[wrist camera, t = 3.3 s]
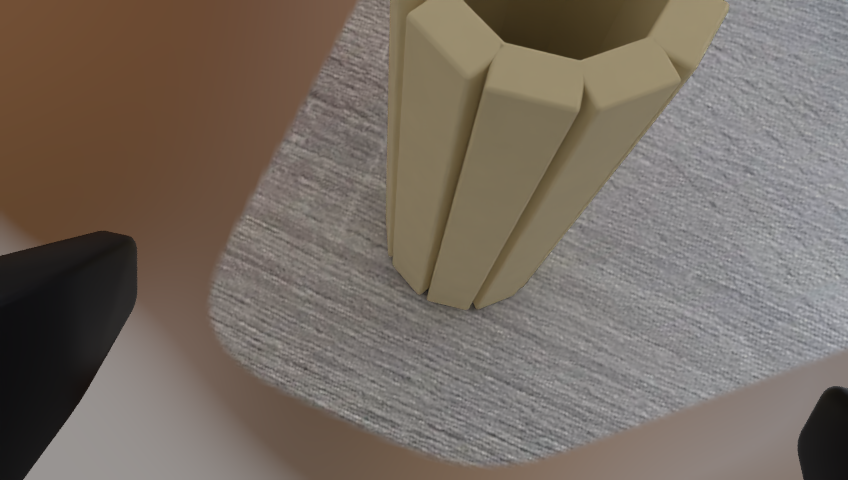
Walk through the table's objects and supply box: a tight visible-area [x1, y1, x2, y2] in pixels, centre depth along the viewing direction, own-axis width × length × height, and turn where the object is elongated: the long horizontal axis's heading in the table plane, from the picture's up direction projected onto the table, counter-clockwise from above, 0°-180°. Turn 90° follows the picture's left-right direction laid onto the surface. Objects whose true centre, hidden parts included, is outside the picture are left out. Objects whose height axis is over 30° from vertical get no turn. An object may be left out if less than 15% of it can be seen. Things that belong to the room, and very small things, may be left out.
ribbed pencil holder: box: [386, 0, 729, 310], centre depth 16 cm, size 5×5×12 cm
